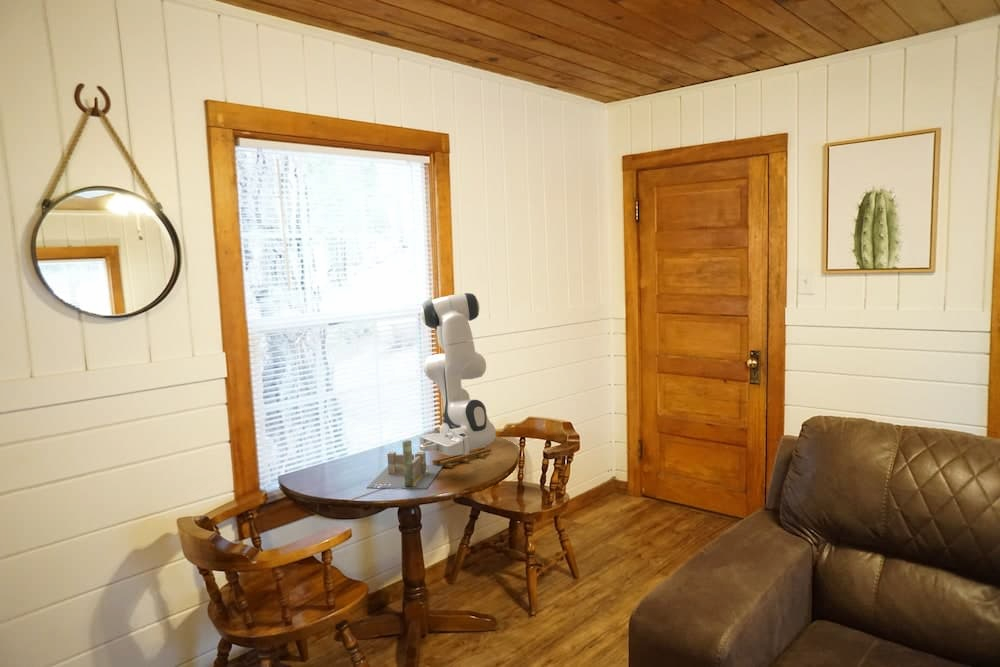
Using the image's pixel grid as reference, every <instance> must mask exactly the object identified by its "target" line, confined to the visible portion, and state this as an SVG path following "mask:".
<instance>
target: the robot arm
mask: <svg viewBox="0 0 1000 667" xmlns="http://www.w3.org/2000/svg"><path fill="white" fill-rule="evenodd" d="M479 314H480V303H479V300H478V299H477V297H476V295H474V294H473V293H471V292H467V293H466V292H465V293H462V294H461V293H460V294H450V295H449V294H448V295H446V296H442V297H437V298H434V299H429V300H426V301H424V302H423V303H422V304H421V310H420V316H421V320H422V321H423V323H424V324H425V325H426V326H427V327H429V328H431V329H434V330H435V331H436V336H437V337H436V338H437V344H438V345H439V347H440V348H441V349H442V350H443V351H444V353H435V354H431V355H428V356H427V357H426V358H425V360H424V362H423V372H424V374H425V376H426V377H427V378H428V379H429V380H431V381H432V382H434V384H435V385H436V386H437V387H438V390H439V391H440V394H441V397H442V408H443V413H442V424H441V425H440V426H439V433H438V432H435V433H433V432H432V433H427V434H421V435H420V436H419V443H420V444H419V450H420V451H421V452H437V453H440V454H442V455H445V456H446V457H447V456H456V455H462V454H463V455H467V454H469V451H470V450H473V449H477V448H481V447H484V448H485V447H486V446H488V445H491V443H493V442H494V440H495V438H496V427H495V425H494V424H493V423H492V422H491V420H490V419H489V418H488V417H489V416H488V414H487V409H486V406H485V404H484V403H483V401H481V400H479V399H470V398H471V397H470V394H469V392H468V390H466V389H465V388H463V387H462V380H474V379H478V378H481V377H483V376H484V374H485V373H486V370H487V362H486V360H485V357H484V356H483V355H482V354H480V353H479V352H477V351H475V350H476V348H475V343H474V337H473V333H472V329H471V326H470V323H469V321H474V320H476V319H477V317H478V316H479Z"/></svg>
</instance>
